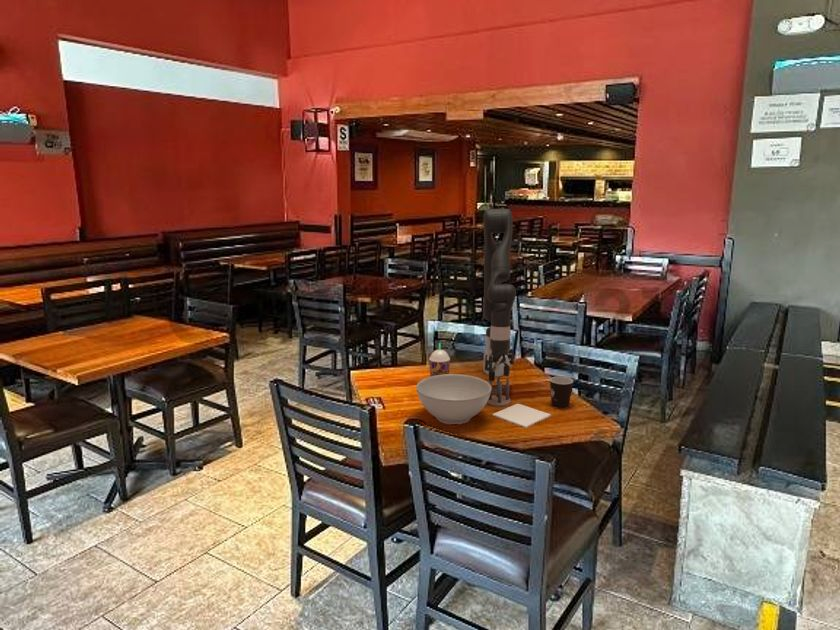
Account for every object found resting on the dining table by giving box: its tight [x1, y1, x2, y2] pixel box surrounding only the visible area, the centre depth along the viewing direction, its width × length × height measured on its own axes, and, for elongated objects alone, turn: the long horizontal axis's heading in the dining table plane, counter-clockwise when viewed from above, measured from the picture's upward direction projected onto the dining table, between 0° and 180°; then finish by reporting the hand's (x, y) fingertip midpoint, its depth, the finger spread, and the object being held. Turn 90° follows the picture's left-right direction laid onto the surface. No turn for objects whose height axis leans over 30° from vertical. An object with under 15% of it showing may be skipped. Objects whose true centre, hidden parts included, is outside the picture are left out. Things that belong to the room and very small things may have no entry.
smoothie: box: [428, 342, 451, 377], centre depth 240 cm, size 8×8×20 cm
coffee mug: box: [549, 376, 574, 409], centre depth 227 cm, size 12×9×10 cm
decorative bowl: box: [415, 373, 493, 425], centre depth 214 cm, size 27×27×12 cm
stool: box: [486, 376, 511, 408], centre depth 228 cm, size 9×9×10 cm
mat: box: [491, 403, 552, 429], centre depth 216 cm, size 15×15×1 cm
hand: (499, 378), depth 226 cm, fingers open, 8 cm apart
